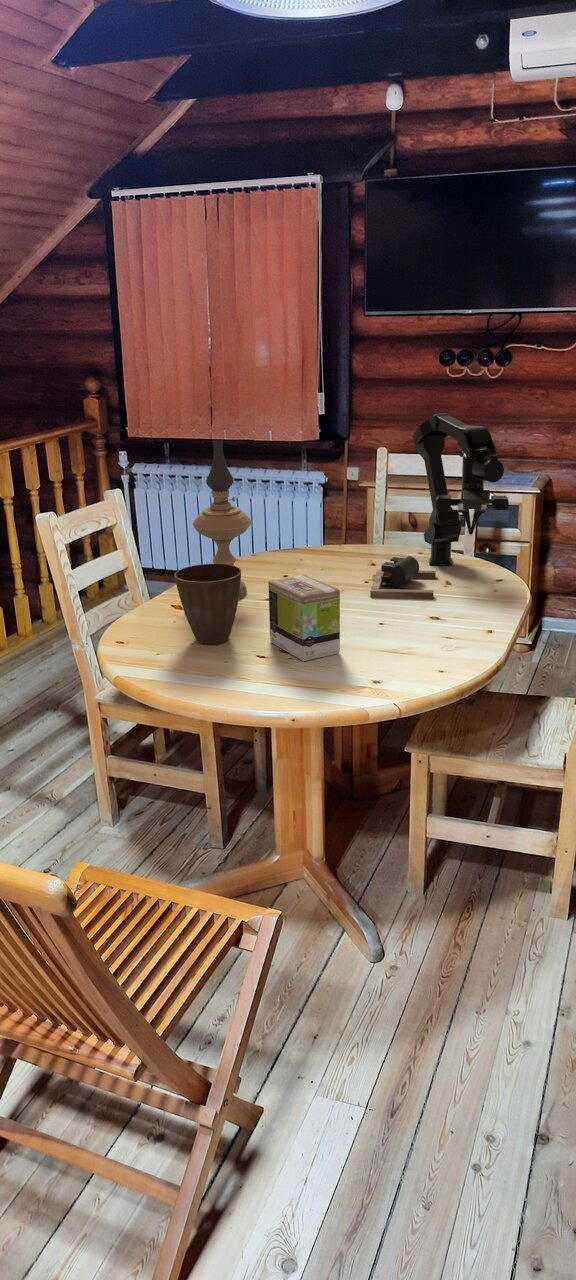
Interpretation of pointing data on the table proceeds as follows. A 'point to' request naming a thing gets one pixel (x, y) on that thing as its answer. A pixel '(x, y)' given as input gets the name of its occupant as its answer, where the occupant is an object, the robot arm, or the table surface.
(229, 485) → the oil lamp
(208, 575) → the plant pot
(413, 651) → the table surface
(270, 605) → the tea box
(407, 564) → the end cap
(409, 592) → the brown u-shaped frame
